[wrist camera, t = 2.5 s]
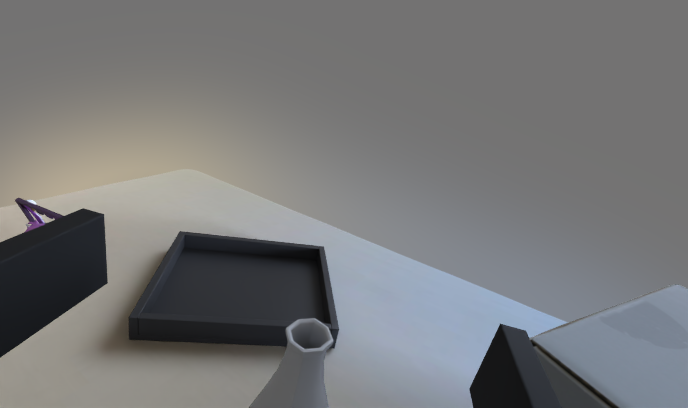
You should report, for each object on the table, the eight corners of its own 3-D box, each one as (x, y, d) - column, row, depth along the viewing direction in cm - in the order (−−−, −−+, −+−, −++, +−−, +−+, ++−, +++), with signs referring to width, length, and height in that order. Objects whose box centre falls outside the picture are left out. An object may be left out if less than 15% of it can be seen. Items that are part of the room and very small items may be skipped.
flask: (266, 504, 23) (288, 397, 19) (227, 413, 28) (238, 314, 24) (351, 448, 27) (382, 353, 24) (304, 378, 32) (323, 290, 29)
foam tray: (320, 261, 52) (324, 246, 51) (334, 348, 37) (339, 329, 36) (179, 247, 47) (179, 231, 47) (128, 339, 32) (128, 317, 31)
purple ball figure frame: (85, 217, 37) (24, 193, 39) (36, 251, 34) (-29, 222, 36) (107, 259, 42) (51, 235, 44) (66, 292, 38) (7, 264, 40)
